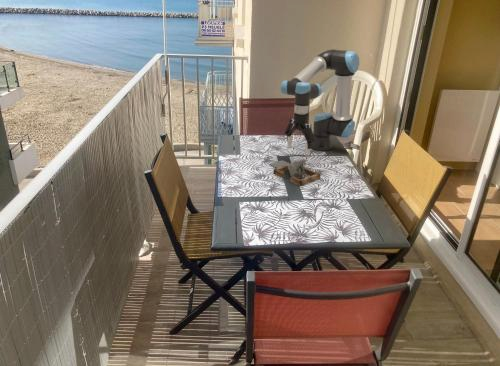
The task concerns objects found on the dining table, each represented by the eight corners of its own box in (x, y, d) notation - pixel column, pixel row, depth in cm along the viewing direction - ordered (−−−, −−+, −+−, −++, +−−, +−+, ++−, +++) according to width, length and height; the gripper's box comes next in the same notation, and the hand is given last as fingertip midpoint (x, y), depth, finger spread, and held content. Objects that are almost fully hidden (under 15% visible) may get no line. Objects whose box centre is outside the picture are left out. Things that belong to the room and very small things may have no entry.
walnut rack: (293, 167, 245) (293, 163, 244) (320, 179, 231) (320, 174, 230) (273, 174, 236) (273, 169, 235) (300, 186, 221) (300, 181, 220)
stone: (306, 159, 230) (288, 158, 230) (306, 175, 225) (288, 174, 226) (305, 167, 238) (287, 166, 239) (304, 183, 234) (286, 182, 234)
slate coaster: (282, 161, 255) (282, 160, 255) (294, 166, 247) (294, 165, 247) (268, 165, 249) (268, 164, 248) (281, 170, 241) (281, 169, 241)
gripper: (279, 108, 225) (277, 146, 233) (314, 118, 207) (310, 158, 216) (289, 107, 229) (286, 143, 238) (323, 116, 212) (320, 155, 220)
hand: (298, 150), depth 227 cm, fingers open, 13 cm apart
